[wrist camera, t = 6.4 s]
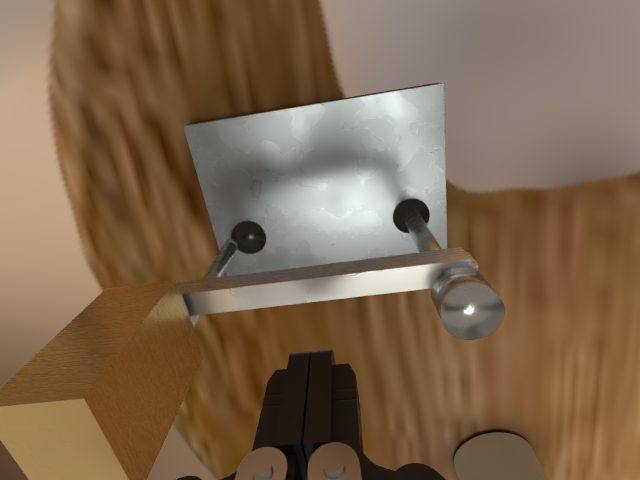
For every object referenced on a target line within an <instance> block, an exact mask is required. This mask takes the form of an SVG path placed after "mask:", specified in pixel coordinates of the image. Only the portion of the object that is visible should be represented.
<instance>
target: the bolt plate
mask: <svg viewBox="0 0 640 480" xmlns="http://www.w3.org/2000/svg"><path fill="white" fill-rule="evenodd" d="M183 128H184V132H185V135H186V138H187V142H188V145H189V149H190V152H191V155H192V159H193V162H194V166H195V169H196V172H197V176H198V179H199V183H200V186H201V189H202V193H203V196H204V200H205V203H206V207H207V210H208V213H209V217H210V220H211V224H212V227H213V230H214V234H215V237H216V241H217V244H218V247H219V251H220V249H221V248H222V246H223V244H224V243H225V241H226V240H228V239H234V240H236V241H237V243H238V249H237V250H236V252H235V254H234V256H233V258H232V259H231V261H230V263H229V265H228V267H227V269H226V270H225V271H226V275H227V276H226V277H218V278H210V279H202V280H193V281H185V282H177V283H176V284H177V287H178V290H180V291H181V293H182V296H183V299H184V302H185V305H186V307H187V310H188V313H189V316H194V315H203V314H212V313H220V312H229V311H238V310H247V309H255V308H264V307H273V306H281V305H290V304H299V303H307V302H316V301H325V300H334V299H342V298H351V297H360V296H368V295H377V294H386V293H394V292H403V291H412V290H420V289H429V288H432V290H431V297H432V300H433V302H434V305H435V307H436V309H437V311H438V314H439V316H440V318H441V320H442V323H443V325H444V327H445V329H446V330H447V331H448V332H449V333H450V334H451V335H453V336H454V337H457V338H460V339H465V340H473V339H478V338H482V337H485V336H487V335H489V334H490V333H492V332H493V331H494V330H496V329H497V328H498V326H499V325H500V324H501V322H502V320H503V317H504V313H505V308H504V304H503V302H502V300H501V299H500V297H499V296H498V295H497V293H496V292H495V291H494V289H493V288H492V287H491V285H490V284H489V283H488V281H487V280H486V279H485V277H484V276H483V275H482V274H481V273H480V272H479V271H478V264H477V263H476V261H475V260H474V259H473V257H472V256H471V255H470V253H469V252H467V253H466V252H465V251H464V249H463V248H462V247H459V248H451V249H447V215H446V170H445V169H446V167H445V121H444V83H434V84H428V85H422V86H416V87H410V88H404V89H398V90H391V91H385V92H380V93H373V94H368V95H361V96H355V97H349V98H343V99H337V100H331V101H325V102H319V103H312V104H306V105H300V106H294V107H288V108H282V109H276V110H270V111H264V112H258V113H252V114H246V115H240V116H234V117H227V118H221V119H215V120H209V121H203V122H197V123H191V124H188V125H185V126H183Z"/></svg>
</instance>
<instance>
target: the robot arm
mask: <svg viewBox="0 0 640 480" xmlns="http://www.w3.org/2000/svg"><path fill="white" fill-rule="evenodd" d="M262 406H263V408H262V410H261V414H260V419H259V423H258V427H257V432H256V436H255V441H254V445H253V449H252V452H251V453H250V454H248V455H247V456H246V457H245V458H244V459H243V461H242V462H241V464H240V466H239V468H238V470H237V471H236V472H235V473H234V474H232V475H230V476H228V477H226V478H223V479H221V480H446V479H445V478H443V477H442V476H441V475H440V474H439V473H438V472H437V471H435V470H434V469H433V468H431V467H429V466H427V465H424V464H419V463H411V464H406V465H404V466H402V467H400V468H399V469H398V470H397V471H393V470H390V469H386V468H383V467H380V466H378V465H376V464H374V463H373V462H371V461H370V460H369V459H368V458H367V457H366V456H365V454H364V453H363V440H362V426H361V413H360V403H359V396H358V389H357V382H356V375H355V373H354V371H353V370H352V368H351V367H350V365H349V364H338V365H336V364H335V358H334V353H333V350H321V351H312V353H311V352H300V353H291V354H290V355H289V360H288V366H287V369H282V370H276V371H275V372H274V374H273V375H272V377H271V378H270V379H269V381H268V383H267V387H266V392H265V397H264V401H263V405H262ZM177 480H201V479H200V478H198V477H196V476H185V477H182V478H179V479H177Z"/></svg>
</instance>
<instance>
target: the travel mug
mask: <svg viewBox="0 0 640 480" xmlns="http://www.w3.org/2000/svg"><path fill="white" fill-rule="evenodd" d="M454 467H455V470H456V473H457V477H458V480H549V479H548V478H547V476H546V474H545V472H544V470H543V468H542V466H541V464H540V463H539V461H538V459H537V457H536V455H535V453H534V451H533V449H532V448H531V446H530V444H529V443H528V442H527V441H526V440H524V439H523V438H521V437H519V436H517V435H514V434H510V433H502V432H496V433H488V434H483V435H480V436H477V437H475V438H472V439H471V440H469V441H467V442H466V443H464V444H463V445H462V446H461V447H460V448H459V449H458V451H457V452H456V454H455V457H454Z"/></svg>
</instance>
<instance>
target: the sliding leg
mask: <svg viewBox="0 0 640 480" xmlns="http://www.w3.org/2000/svg"><path fill="white" fill-rule="evenodd" d="M237 249H238V243H237V241H236V240H234V239H228V240H226V241H225V243H224V244H223V246H222V248H221V249H220V251H219V252H218V254H217V255H216V257H215V258H214V260H213V261H212V263H211V264H210V266H209V268H208V269H207V271H206V272H205V274H204V275H203V277H202V278H201V280H202V279H210V278H218V277H222V276H223V274H224V272H225V270H226V269H227V267H228V265H229V263H230V261H231V259H232V258H233V256H234V254H235V252H236V250H237ZM200 316H201V315H194V316H189V313H188V310H187V307H186V305H185V302H184V299H183V296H182V293H181V291H180V290H178V287H177V284H176V281H175V280H174V281H165V282H157V283H149V284H141V285H133V286H125V287H117V288H109V289H105V290H104V291H103V292H102V293H101V294H100V295H99V296H98V297H97V298H96V299H95V300H93V301H92V302H91V303H90V305H88V306H87V307H86V308H85V309H84V310H83V311H82V312H81V313H80V314H79V315H78V316H77V317H75V318H74V319H73V320H72V321H71V322H70V323H69V324H68V325H67V326H66V327H65V328H64V329H63V330H61V331H60V332H59V333H58V334H57V335H56V336H55V337H54V338H53V339H52V340H51V341H50V342H49V343H48V344H47V345H46V346H44V347H43V348H42V349H41V350H40V351H39V352H38V353H37V354H36V355H35V356H34V357H33V358H32V359H31V360H30V361H29V362H28V363H26V364H25V365H24V366H23V367H22V368H21V369H20V370H19V371H18V372H17V373H16V374H15V375H14V376H13V377H11V378H10V380H8V381H7V382H6V383H5V384H4V385H3V386H2V387H1V388H0V440H1V441H2V442H3V444H4V445H5V447H6V448H7V450H8V451H9V452H10V454H11V455H12V457H13V458H14V459H15V461H16V462H17V463H18V465H19V466H20V468H21V469H22V471H23V472H24V473H25V475H26V476H27V478H28V479H29V480H147V477H148V475H149V473H150V471H151V469H152V467H153V464H154V462H155V460H156V458H157V456H158V453H159V451H160V449H161V447H162V445H163V443H164V440H165V438H166V436H167V434H168V432H169V430H170V428H171V425H172V423H173V421H174V419H175V417H176V415H177V412H178V410H179V408H180V406H181V404H182V402H183V399H184V397H185V395H186V393H187V391H188V389H189V386H190V384H191V382H192V380H193V378H194V376H195V373H196V371H197V369H198V367H199V365H200V363H201V360H202V358H203V356H202V354H201V351H200V348H199V341H198V338H197V335H196V333H195V330H194V327H195V325H196V323H197V321H198V319H199V318H200Z"/></svg>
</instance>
